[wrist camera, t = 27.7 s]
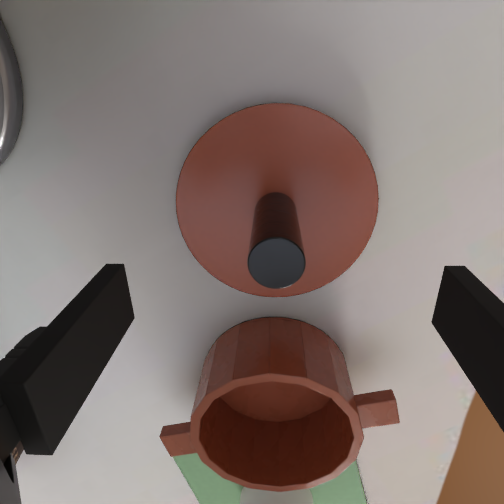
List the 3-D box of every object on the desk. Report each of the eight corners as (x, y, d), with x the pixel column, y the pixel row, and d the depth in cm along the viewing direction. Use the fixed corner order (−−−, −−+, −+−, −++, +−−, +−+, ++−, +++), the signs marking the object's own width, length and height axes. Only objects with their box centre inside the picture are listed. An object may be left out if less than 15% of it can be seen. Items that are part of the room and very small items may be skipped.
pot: (155, 339, 30) (128, 398, 25) (365, 295, 27) (390, 351, 22) (203, 435, 35) (190, 503, 30) (386, 407, 32) (410, 476, 27)
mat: (169, 446, 36) (168, 449, 36) (345, 420, 33) (345, 422, 33) (229, 551, 44) (228, 554, 44) (375, 537, 41) (376, 540, 41)
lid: (149, 137, 23) (86, 166, 15) (356, 72, 21) (406, 67, 13) (215, 304, 29) (193, 389, 21) (386, 267, 26) (434, 345, 18)
